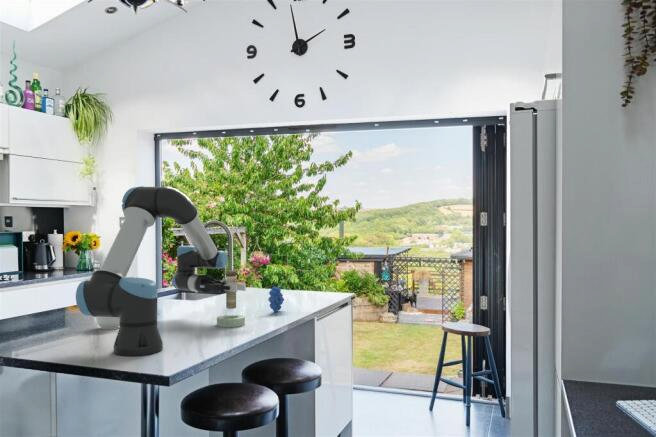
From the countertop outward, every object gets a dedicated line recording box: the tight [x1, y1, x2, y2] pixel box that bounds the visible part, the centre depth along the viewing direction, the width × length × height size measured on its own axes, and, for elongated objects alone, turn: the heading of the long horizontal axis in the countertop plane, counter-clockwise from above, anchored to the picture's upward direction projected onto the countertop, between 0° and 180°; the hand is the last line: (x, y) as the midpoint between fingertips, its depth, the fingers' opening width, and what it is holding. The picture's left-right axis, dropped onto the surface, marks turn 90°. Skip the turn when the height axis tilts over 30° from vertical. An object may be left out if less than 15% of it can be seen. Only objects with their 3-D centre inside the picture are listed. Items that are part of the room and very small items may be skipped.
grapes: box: [268, 285, 285, 313], centre depth 251 cm, size 12×7×12 cm, turn 159°
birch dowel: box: [225, 270, 237, 310], centre depth 222 cm, size 4×4×15 cm
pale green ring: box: [216, 314, 246, 328], centre depth 222 cm, size 11×11×3 cm
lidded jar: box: [95, 316, 120, 330], centre depth 214 cm, size 11×11×9 cm
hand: (240, 288), depth 219 cm, fingers closed on birch dowel, 4 cm apart
